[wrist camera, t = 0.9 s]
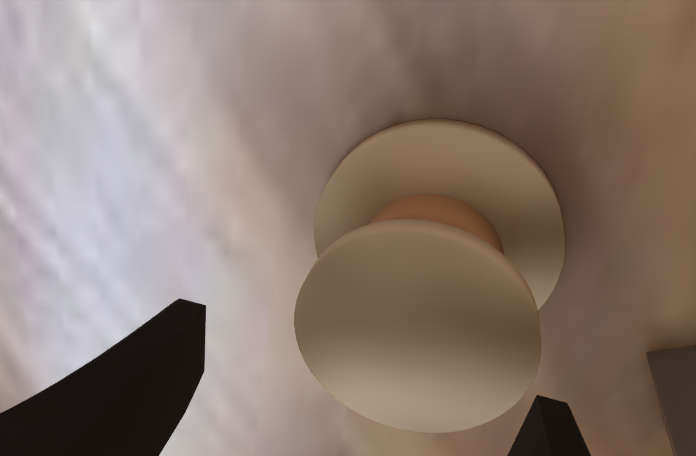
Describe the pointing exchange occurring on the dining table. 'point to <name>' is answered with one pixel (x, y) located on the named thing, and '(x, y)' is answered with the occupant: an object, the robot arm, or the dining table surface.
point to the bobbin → (430, 276)
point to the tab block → (677, 395)
